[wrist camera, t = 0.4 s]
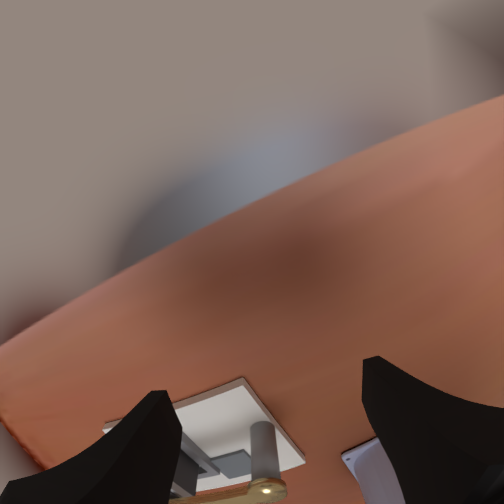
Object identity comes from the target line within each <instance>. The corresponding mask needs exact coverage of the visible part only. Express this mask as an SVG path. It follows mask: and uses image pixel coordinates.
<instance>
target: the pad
mask: <svg viewBox="0 0 504 504" xmlns="http://www.w3.org/2000/svg"><path fill="white" fill-rule="evenodd" d="M210 461H211V462H212V463H213V464H214V465H215V466H216V467H218V468H219V469H220V472H221V473H222V474H223V475H225V476H226V477H227V478H228V479H232V478H236V477H240V476H244V475H248V474H251V456H250V455H249V454H248V453H247V452H246V451H245V450H244V449H242V450H238V451H235V452H231V453H228V454H224V455H220V456H217V457H213V458H211V459H210Z"/></svg>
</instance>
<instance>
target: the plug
mask: <svg viewBox="0 0 504 504" xmlns="http://www.w3.org/2000/svg"><path fill="white" fill-rule="evenodd" d="M198 472H199V464H197V463H196V462H195V461H194V460H193V459H192V458H191V457H189V456H188V455H187V454H186V453H185V452H184V451H183V450H182V449H181V450H180V454H179V459H178V463H177V467H176V471H175V475H174V479H173V484H172V488H171V492H170V497H169V499H174V498H183V497H191V496H195V494H196V487H197V479H198Z"/></svg>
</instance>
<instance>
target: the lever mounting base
mask: <svg viewBox="0 0 504 504" xmlns="http://www.w3.org/2000/svg"><path fill="white" fill-rule="evenodd" d="M172 405H173V407H174V409H175V412H176V414H177V416H178V418H179V421H180V423H181V425H182V427H183V428H182V441H181V449H182V450H183V451H184V452H185V453H186V454H187V455H188V456H189V457H191V458H192V459H193V460H194V461H195V462H196V463H197V464H199V472H198V479H197V487H196V492H197V491H203V490H209V489H214V488H219V487H224V486H229V485H233V484H238V483H242V482H246V481H250V480H251V481H253V480H256V479H260V478H278V479H281V476H280V472H281V471H284V470H287V469H290V468H293V467H296V466H299V465H302V464H305V463H306V461H305V456H304V455H303V453H302V452H301V451H300V450H299V449H298V447H297V446H296V445H295V444H294V443H293V441H292V440H291V439H290V438H289V436H288V435H287V434H286V433H285V431H284V430H283V429H282V428H281V426H280V425H279V424H278V423H277V421H276V420H275V419H274V418H273V416H272V415H271V414H270V412H269V411H268V410H267V408H266V407H265V406H264V405H263V403H262V402H261V401H260V399H259V398H258V397H257V395H256V394H255V393H254V391H253V390H252V389H251V387H250V386H249V384H248V383H247V382H246V380H245V379H244V378H243V377H242V378H240V379H237V380H235V381H232V382H230V383H227V384H225V385H222V386H220V387H217V388H214V389H212V390H209V391H207V392H204V393H201V394H198V395H196V396H193V397H190V398H187V399H184V400H182V401H179V402H176V403H173V404H172ZM121 420H122V419H120V420H116V421H112V422H109V423H105V425H104V427H103V429H102V430H103V431H104V432H105V433H107V432H109V431H110V430H111V429H112V428H113V427H114V426H115V425H117V424H118V423H119V422H120V421H121ZM242 449H244V450H245V451H246V452H247V453H248V454H249V455H250V456H251V474H248V475H244V476H240V477H236V478H232V479H228V478H227V477H226V476H225V475H223V474H222V473H221V472H220V469H219V468H218V467H216V466H215V465H214V464H213V463H212V462H211V461H210V459H211V458H213V457H217V456H220V455H224V454H228V453H231V452H235V451H238V450H242Z"/></svg>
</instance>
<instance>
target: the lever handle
mask: <svg viewBox="0 0 504 504" xmlns="http://www.w3.org/2000/svg"><path fill="white" fill-rule="evenodd" d="M286 496H287V488H286V483H285V482H284V481H283V480H281V479H278V478H260V479H256V480H253V481H251V482H250V483H249V484H248V485H247V486H244V487H239V488H235V489H230V490H226V491H221V492H215V493H210V494H204V495H197V496H191V497H183V498H174V499H169V503H168V504H256V503H273V502H277V501H280V500H282V499H284V498H285V497H286Z"/></svg>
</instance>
